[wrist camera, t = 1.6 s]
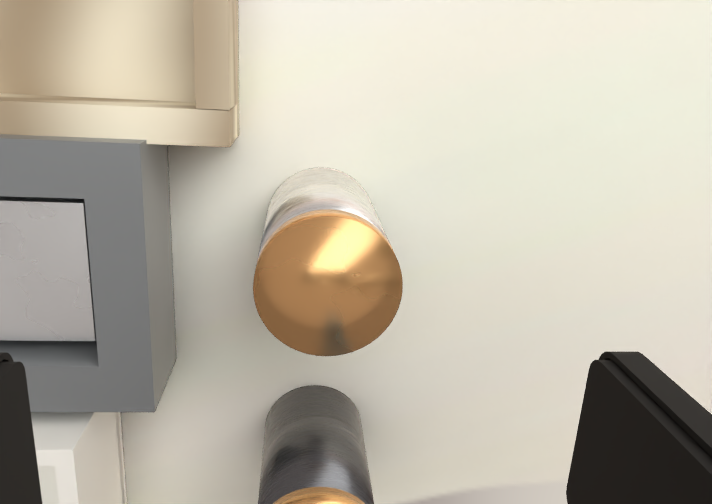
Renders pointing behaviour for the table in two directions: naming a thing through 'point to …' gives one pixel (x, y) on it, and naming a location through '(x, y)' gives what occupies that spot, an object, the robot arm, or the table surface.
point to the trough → (121, 70)
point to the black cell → (314, 450)
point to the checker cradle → (104, 271)
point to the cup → (80, 457)
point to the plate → (45, 270)
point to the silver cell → (325, 266)
